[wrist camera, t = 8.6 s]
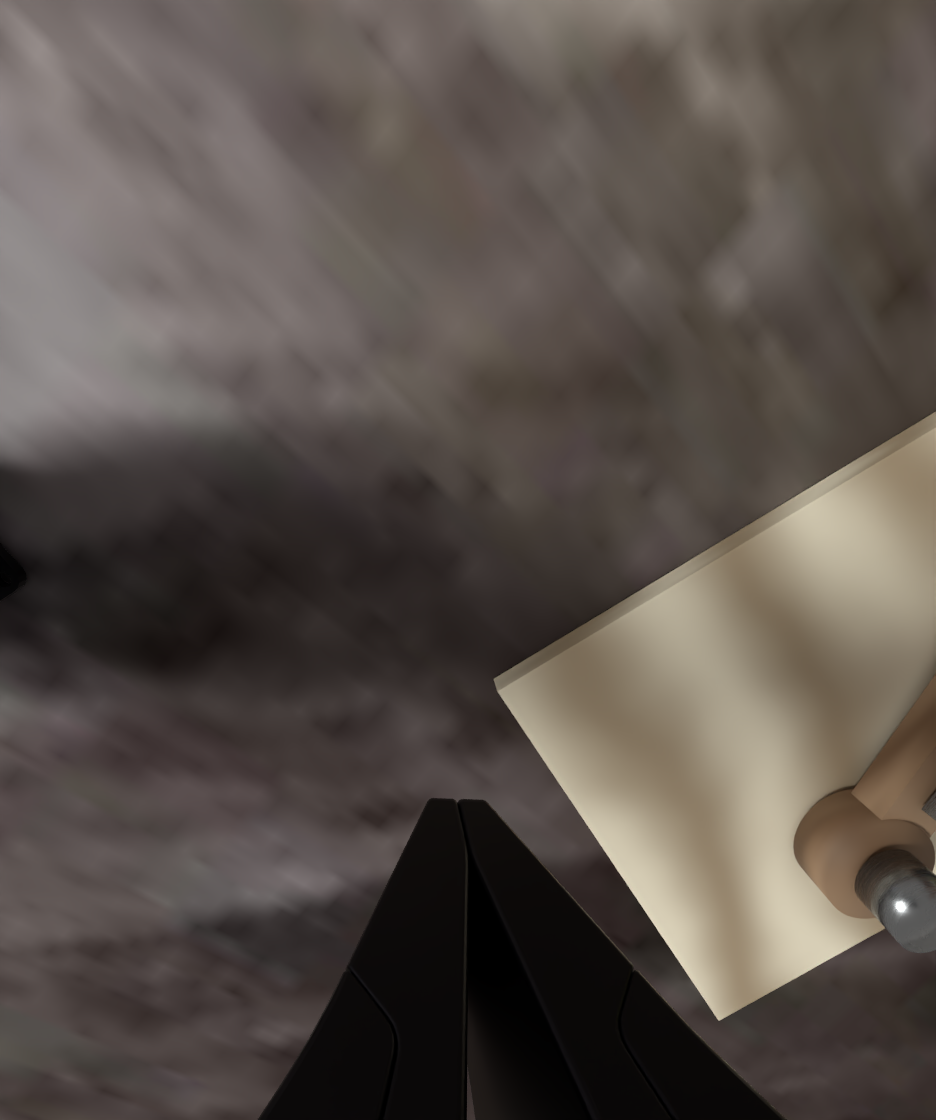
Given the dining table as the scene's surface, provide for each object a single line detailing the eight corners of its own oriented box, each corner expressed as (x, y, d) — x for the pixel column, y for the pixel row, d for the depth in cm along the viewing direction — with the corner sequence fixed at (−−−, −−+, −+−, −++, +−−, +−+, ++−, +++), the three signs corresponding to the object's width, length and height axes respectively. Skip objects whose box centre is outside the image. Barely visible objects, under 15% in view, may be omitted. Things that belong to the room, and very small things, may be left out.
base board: (708, 999, 28) (718, 1020, 27) (493, 679, 23) (497, 691, 22) (1072, 795, 27) (1096, 810, 26) (942, 407, 22) (967, 408, 21)
